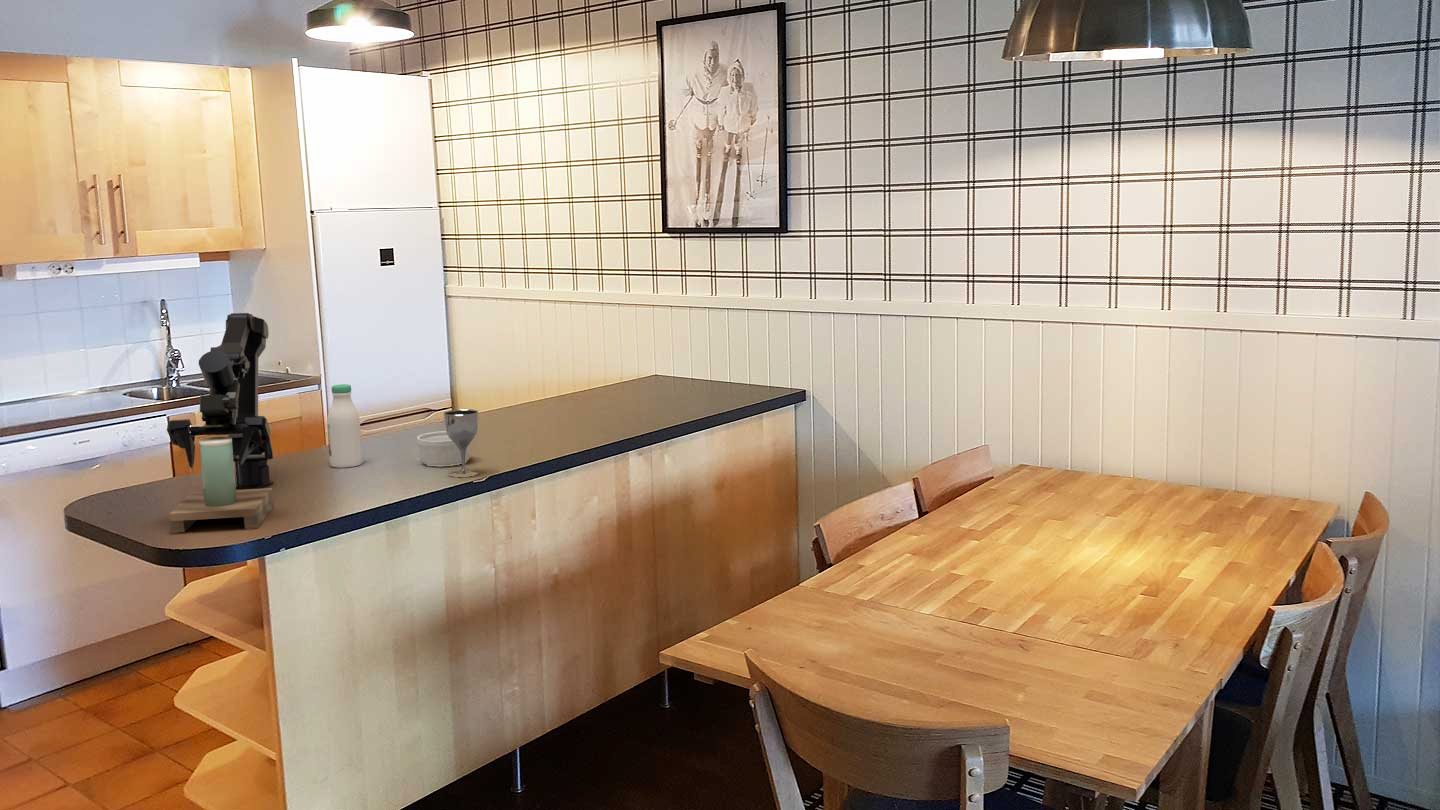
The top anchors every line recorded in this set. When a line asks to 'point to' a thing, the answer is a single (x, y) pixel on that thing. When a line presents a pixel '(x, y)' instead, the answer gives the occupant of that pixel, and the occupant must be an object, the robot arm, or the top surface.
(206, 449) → the tumbler
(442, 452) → the ramekin
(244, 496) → the wooden pallet
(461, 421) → the wine glass
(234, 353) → the robot arm
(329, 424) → the milk bottle
